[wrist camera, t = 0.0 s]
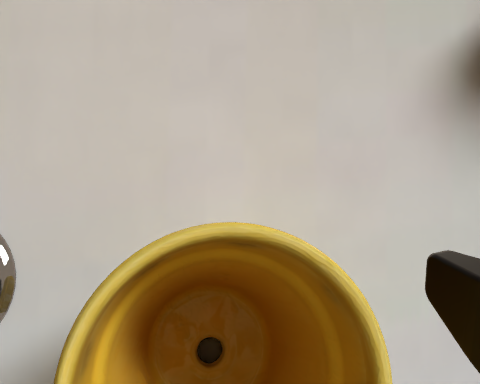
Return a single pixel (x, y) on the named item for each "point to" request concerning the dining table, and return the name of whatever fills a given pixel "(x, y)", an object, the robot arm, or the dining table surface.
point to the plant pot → (226, 315)
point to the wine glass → (6, 277)
